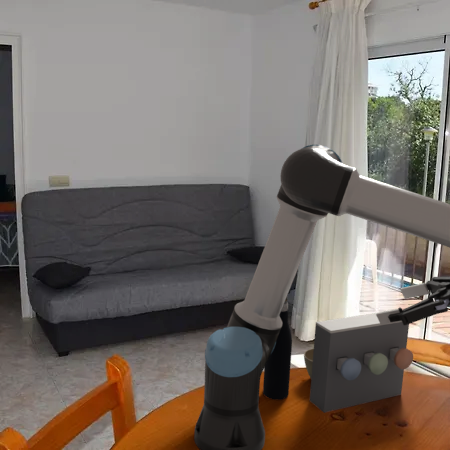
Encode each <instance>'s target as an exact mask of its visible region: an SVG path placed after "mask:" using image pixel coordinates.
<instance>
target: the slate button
mask: <svg viewBox="0 0 450 450" xmlns="http://www.w3.org/2000/svg"><path fill="white" fill-rule="evenodd" d="M337 369H339V370H340V371H341V375H342V376H343V377H344V378H345V379H347V380H354V379H355V378H357V377H358V375H359V374H360V371H361V364H360V362H359V361H358V360H356V359H354V358H346V357H344V358H339V359H338V360H337Z"/></svg>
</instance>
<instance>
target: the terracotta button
mask: <svg viewBox="0 0 450 450" xmlns="http://www.w3.org/2000/svg"><path fill="white" fill-rule="evenodd" d="M389 358H390V359H392V360H393V361H394V364H395V365H396V366H397V367H398V368H400V369H404V370H405V369H408V368H409V367H411V365H412V363H413V361H414V353H413V351H412V350H410V349H408V348H407V347H406V348H401V349H399V348H393V349H390V354H389Z"/></svg>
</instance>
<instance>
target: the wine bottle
mask: <svg viewBox="0 0 450 450" xmlns="http://www.w3.org/2000/svg"><path fill="white" fill-rule="evenodd" d="M291 287H292V286H291ZM291 287H290V289H289V292H288V294H287V295H289V294H291ZM289 313H290V311H289V302H288V296H287V297H286V299H285V302H284V304H283V307H282V309H281V312H280V314H279V316H280V318H281V320H282V327H281V329H280V332H279V335H278V337H277V340H276V345H275V348H274V350H273V352H272V353H271V354H270V356H269V358H268V361H267V363H266V365H265V367H264V369H263V385H262V394H263V396H264V397H266V398H267V399H270V400H274V401H275V400H276V401H280V400H284V399H287V398H288V397H289V393H290V392H289V391H290V390H289V389H290V377H291V364H292V351H293V350H292V347H293V336H292V330H291V327H290V324H289V323H290V322H289Z"/></svg>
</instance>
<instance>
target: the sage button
mask: <svg viewBox="0 0 450 450" xmlns="http://www.w3.org/2000/svg"><path fill="white" fill-rule="evenodd" d="M364 364H366V365H368V369H369V370H370V371H371V372H372V373H374V374H376V375H379V374H381V373H383V372H384V371H385V369H386V368H387V365H388V359H387V357H386V356H385V355H383V354H381V353H375V354H374V353H373V352H371V353H366V354H364Z"/></svg>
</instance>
